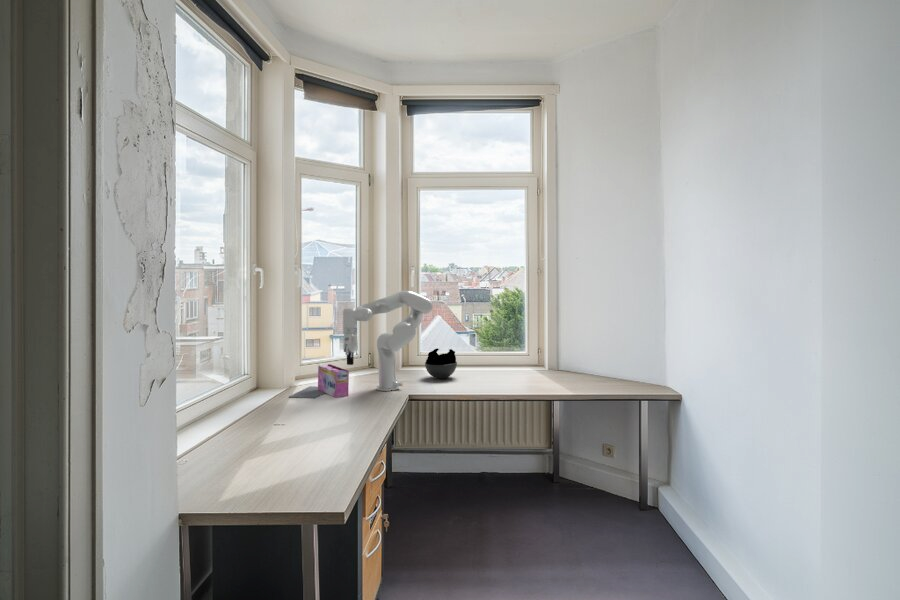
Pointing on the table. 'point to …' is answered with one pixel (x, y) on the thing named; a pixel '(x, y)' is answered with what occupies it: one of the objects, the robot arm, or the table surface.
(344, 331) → the robot arm
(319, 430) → the table surface
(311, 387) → the charcoal mat
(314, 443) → the table surface
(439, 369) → the bowl of black rocks
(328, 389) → the pink multipack carton
